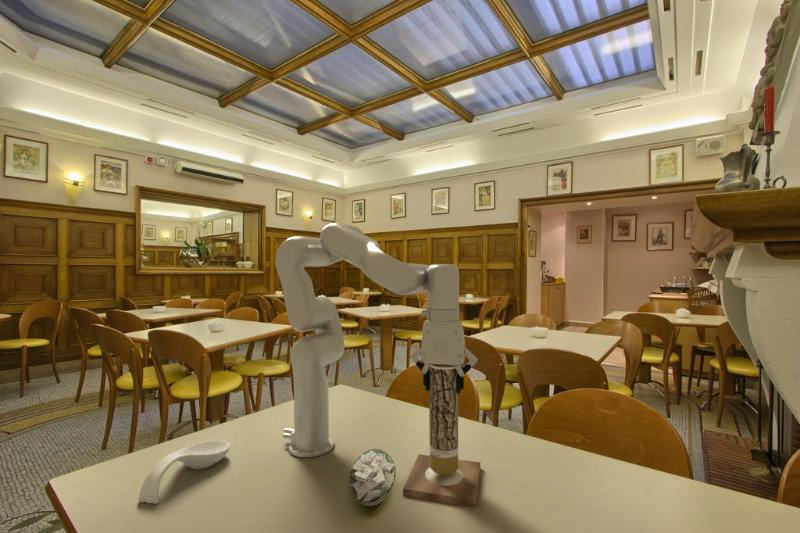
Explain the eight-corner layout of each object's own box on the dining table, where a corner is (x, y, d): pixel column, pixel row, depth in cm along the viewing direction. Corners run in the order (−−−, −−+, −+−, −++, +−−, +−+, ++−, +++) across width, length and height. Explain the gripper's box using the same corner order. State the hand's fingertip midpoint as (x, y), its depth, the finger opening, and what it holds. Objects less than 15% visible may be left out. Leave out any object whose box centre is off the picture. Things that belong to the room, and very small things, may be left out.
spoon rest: (201, 450, 104) (201, 424, 104) (239, 453, 102) (239, 427, 102) (125, 502, 81) (125, 469, 81) (172, 508, 79) (172, 474, 79)
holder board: (403, 495, 83) (403, 488, 83) (418, 459, 98) (418, 454, 98) (476, 507, 78) (475, 500, 78) (480, 468, 94) (480, 462, 94)
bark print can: (457, 477, 84) (457, 367, 85) (427, 474, 86) (427, 366, 86) (458, 462, 91) (458, 360, 91) (431, 459, 92) (431, 359, 93)
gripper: (404, 316, 87) (404, 392, 87) (479, 319, 83) (479, 399, 82) (411, 312, 95) (411, 383, 94) (481, 315, 90) (481, 388, 90)
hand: (443, 389), depth 88 cm, fingers closed on bark print can, 6 cm apart
